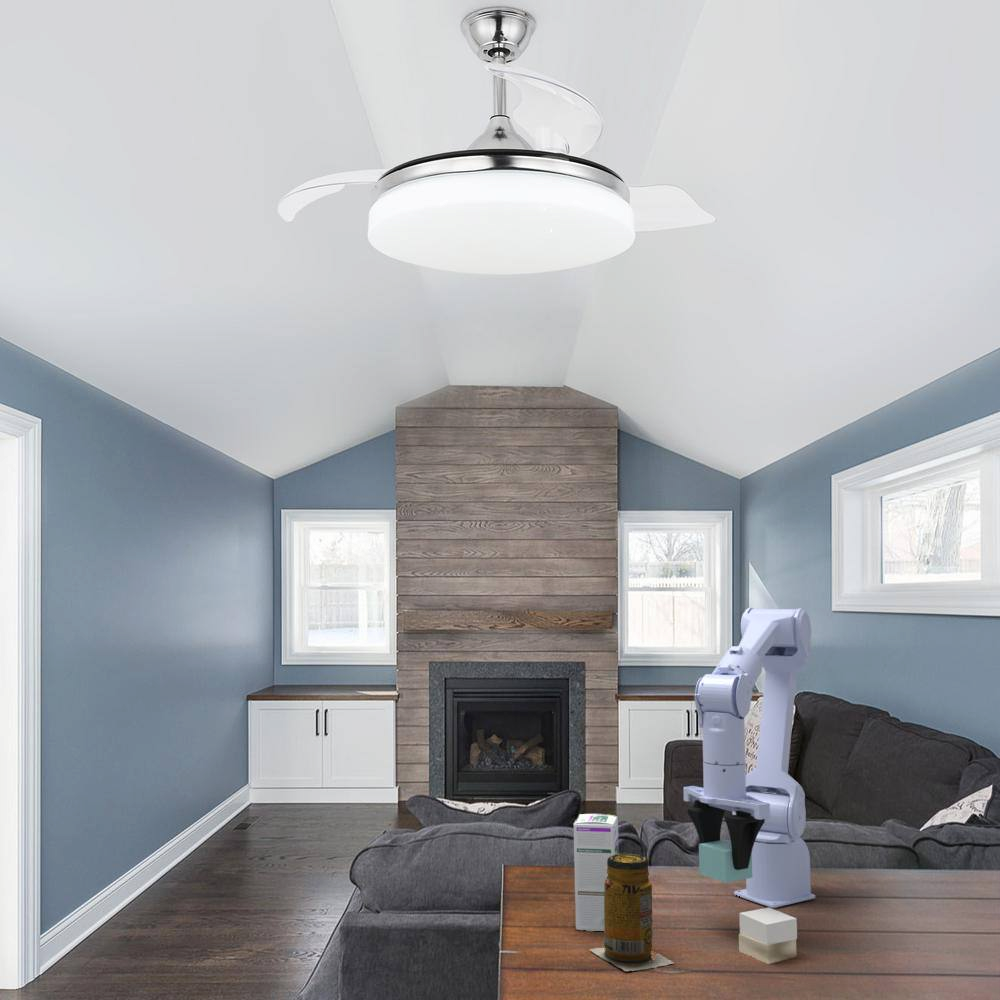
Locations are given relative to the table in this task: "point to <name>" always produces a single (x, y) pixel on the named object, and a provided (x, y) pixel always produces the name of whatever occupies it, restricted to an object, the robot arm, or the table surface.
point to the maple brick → (767, 949)
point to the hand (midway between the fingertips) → (726, 863)
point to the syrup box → (592, 866)
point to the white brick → (768, 926)
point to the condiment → (628, 915)
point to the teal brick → (720, 862)
